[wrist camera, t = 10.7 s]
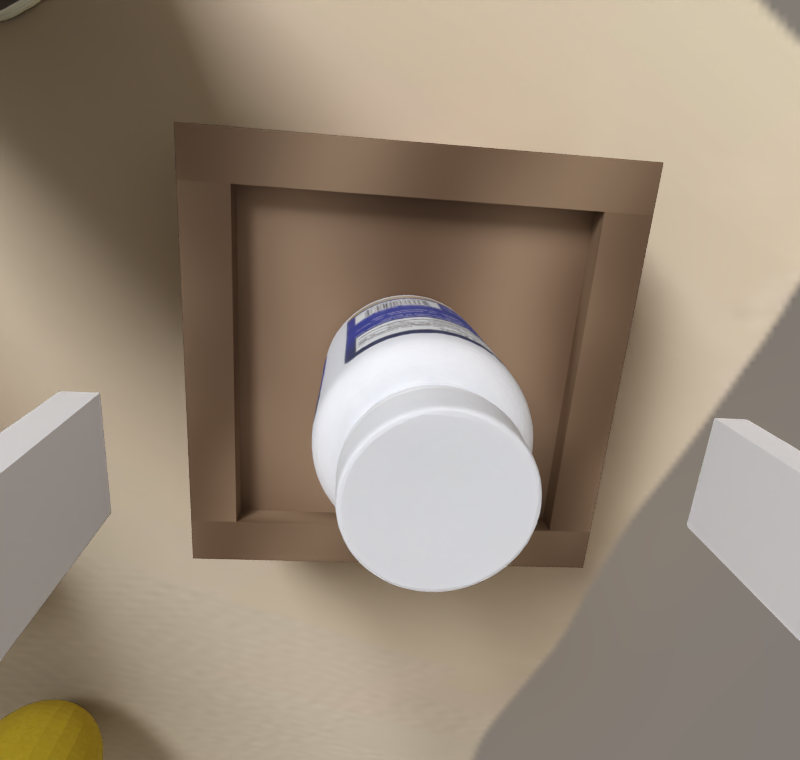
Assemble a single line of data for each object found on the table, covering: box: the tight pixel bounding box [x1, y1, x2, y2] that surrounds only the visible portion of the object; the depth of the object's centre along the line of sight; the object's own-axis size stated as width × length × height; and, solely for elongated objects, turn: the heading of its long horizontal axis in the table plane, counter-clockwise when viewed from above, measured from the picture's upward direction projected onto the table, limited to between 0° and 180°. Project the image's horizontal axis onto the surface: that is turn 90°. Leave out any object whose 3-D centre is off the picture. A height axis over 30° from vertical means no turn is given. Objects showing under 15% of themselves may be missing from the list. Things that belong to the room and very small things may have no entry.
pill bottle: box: [312, 295, 542, 592], centre depth 15 cm, size 5×5×9 cm
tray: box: [174, 122, 663, 568], centre depth 21 cm, size 14×14×6 cm
